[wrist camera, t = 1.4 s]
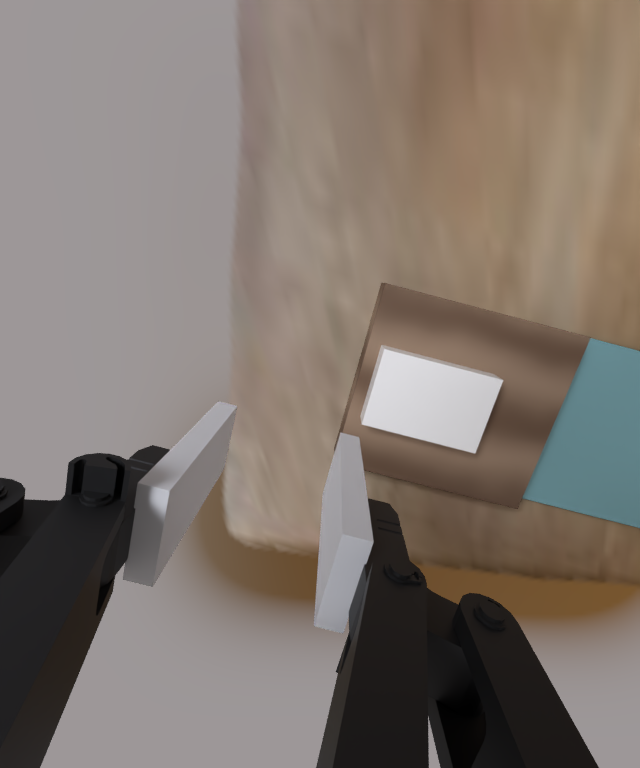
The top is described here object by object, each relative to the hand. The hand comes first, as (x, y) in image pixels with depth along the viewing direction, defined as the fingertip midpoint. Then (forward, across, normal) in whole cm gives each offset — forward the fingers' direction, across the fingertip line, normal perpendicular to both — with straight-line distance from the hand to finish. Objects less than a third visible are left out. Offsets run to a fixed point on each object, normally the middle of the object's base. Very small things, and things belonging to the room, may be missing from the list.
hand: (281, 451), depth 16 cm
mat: (+20, +28, 0) cm, 34 cm away
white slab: (+17, +10, 0) cm, 19 cm away
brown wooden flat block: (+20, +12, 0) cm, 23 cm away
